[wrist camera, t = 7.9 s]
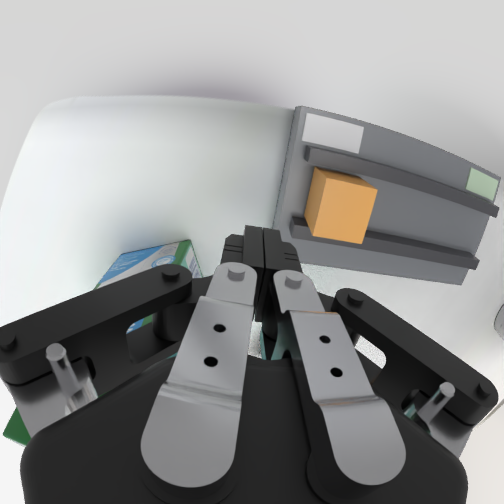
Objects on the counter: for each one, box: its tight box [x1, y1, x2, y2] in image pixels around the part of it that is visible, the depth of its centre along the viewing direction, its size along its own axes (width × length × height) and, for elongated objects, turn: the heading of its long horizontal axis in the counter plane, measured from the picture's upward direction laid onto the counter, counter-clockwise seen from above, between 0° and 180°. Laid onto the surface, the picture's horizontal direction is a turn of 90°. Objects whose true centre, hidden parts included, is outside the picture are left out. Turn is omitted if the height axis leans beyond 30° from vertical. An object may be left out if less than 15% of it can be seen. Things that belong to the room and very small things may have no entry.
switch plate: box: [272, 106, 501, 285], centre depth 26 cm, size 24×14×6 cm, turn 81°
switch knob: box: [304, 167, 378, 244], centre depth 22 cm, size 4×4×4 cm
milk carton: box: [3, 240, 203, 447], centre depth 23 cm, size 9×9×25 cm
